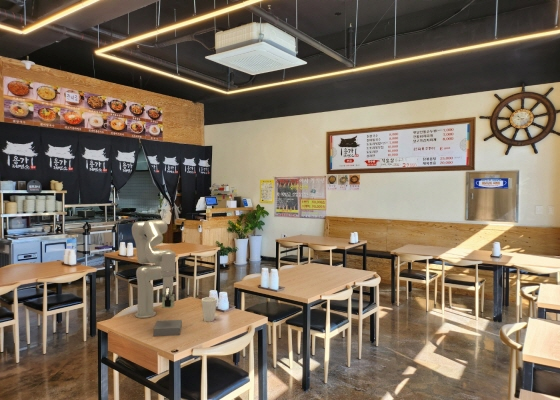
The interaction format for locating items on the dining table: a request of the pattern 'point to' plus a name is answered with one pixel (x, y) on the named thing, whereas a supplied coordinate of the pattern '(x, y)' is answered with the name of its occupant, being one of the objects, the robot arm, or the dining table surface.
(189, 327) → the dining table surface
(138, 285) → the robot arm
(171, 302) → the cube
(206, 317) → the foam cup
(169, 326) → the block
